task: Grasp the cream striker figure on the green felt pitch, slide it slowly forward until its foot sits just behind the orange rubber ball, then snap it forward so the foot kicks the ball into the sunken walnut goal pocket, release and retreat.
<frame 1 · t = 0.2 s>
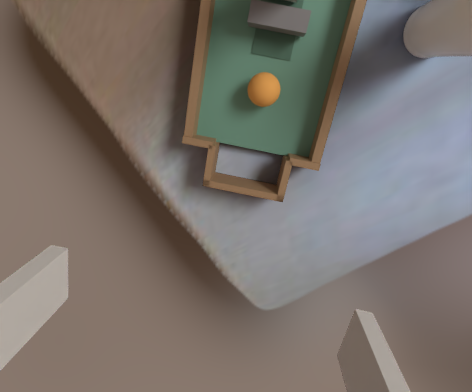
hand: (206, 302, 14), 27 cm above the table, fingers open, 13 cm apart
pitch: (263, 89, 37), on the table
ball: (263, 89, 34), point 3 cm above the table, touching pitch
drinking glass: (425, 32, 33), on the table
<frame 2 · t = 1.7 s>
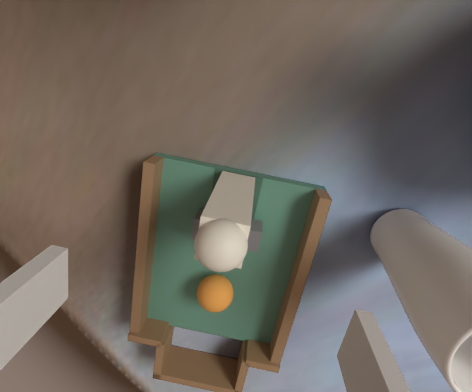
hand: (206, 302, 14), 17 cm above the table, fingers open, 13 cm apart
striker: (225, 233, 23), point 8 cm above the table, slide at 0.0 cm
pitch: (219, 275, 33), on the table
ball: (215, 292, 30), point 3 cm above the table, touching pitch
drinking glass: (396, 231, 30), on the table
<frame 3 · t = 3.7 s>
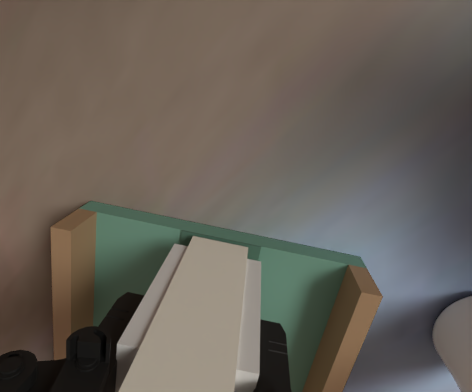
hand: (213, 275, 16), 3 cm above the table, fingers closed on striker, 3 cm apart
striker: (187, 380, 12), point 7 cm above the table, slide at 0.0 cm, touching gripper
pitch: (195, 377, 22), on the table
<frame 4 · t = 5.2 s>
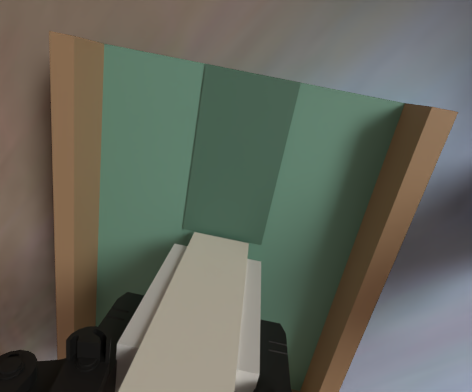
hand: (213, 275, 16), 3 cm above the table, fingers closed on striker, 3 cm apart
striker: (189, 372, 12), point 8 cm above the table, slide at 8.4 cm, touching gripper
pitch: (215, 276, 19), on the table
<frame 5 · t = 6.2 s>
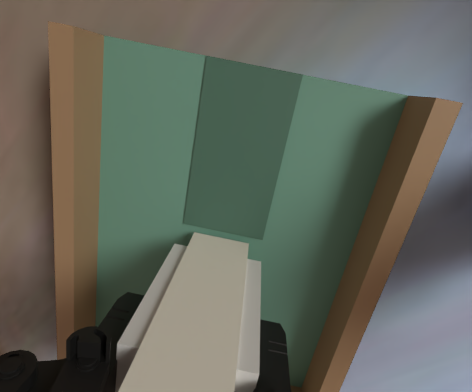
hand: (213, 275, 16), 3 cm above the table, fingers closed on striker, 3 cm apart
striker: (189, 373, 12), point 8 cm above the table, slide at 8.7 cm, touching gripper
pitch: (216, 271, 19), on the table
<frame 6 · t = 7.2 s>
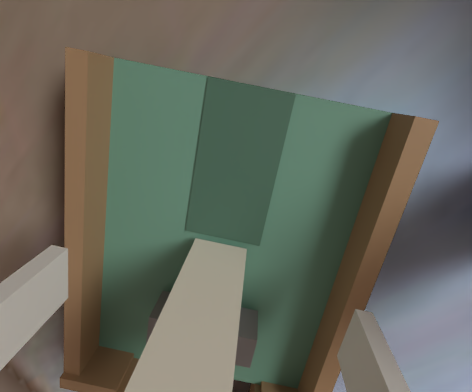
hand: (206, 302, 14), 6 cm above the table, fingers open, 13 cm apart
striker: (191, 369, 13), point 8 cm above the table, slide at 8.7 cm
pitch: (215, 276, 20), on the table
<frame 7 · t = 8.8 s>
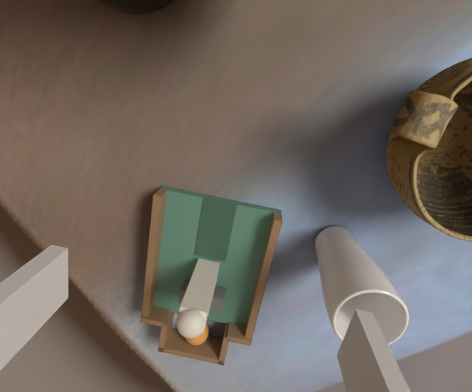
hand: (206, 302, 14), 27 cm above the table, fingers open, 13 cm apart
striker: (197, 306, 38), point 7 cm above the table, slide at 8.7 cm
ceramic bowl: (440, 136, 36), on the table
pitch: (207, 274, 45), on the table
ball: (196, 332, 46), point 2 cm above the table, tilted 51°
drinking glass: (333, 241, 42), on the table
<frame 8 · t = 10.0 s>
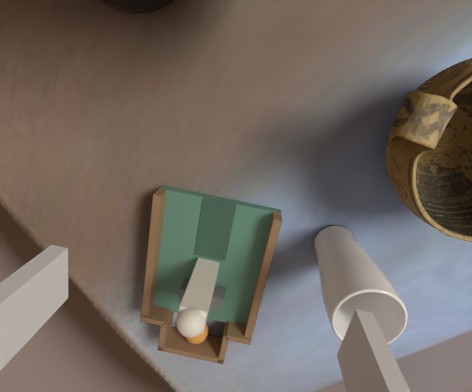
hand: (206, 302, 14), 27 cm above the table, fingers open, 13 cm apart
striker: (197, 305, 38), point 7 cm above the table, slide at 8.7 cm
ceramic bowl: (439, 136, 36), on the table
pitch: (207, 273, 45), on the table
ball: (196, 330, 46), point 2 cm above the table, tilted 53°
drinking glass: (333, 241, 42), on the table
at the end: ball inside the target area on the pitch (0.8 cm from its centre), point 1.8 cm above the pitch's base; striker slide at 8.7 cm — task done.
